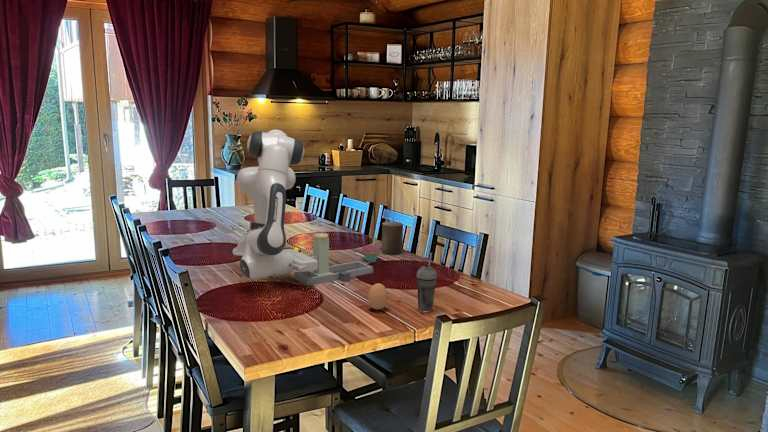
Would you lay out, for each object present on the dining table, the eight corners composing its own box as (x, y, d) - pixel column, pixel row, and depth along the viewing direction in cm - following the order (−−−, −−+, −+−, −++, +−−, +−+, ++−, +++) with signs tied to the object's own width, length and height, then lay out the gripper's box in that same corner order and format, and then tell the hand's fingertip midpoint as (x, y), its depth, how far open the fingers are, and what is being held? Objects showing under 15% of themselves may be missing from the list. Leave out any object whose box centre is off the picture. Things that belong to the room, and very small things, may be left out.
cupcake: (382, 259, 254) (383, 232, 251) (376, 264, 246) (377, 236, 243) (364, 257, 256) (365, 230, 254) (357, 261, 248) (358, 234, 246)
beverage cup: (413, 306, 196) (415, 249, 192) (434, 306, 197) (436, 250, 193) (416, 314, 189) (418, 255, 185) (437, 314, 190) (440, 255, 186)
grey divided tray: (312, 288, 212) (312, 280, 211) (290, 276, 226) (290, 268, 225) (378, 275, 230) (378, 267, 230) (353, 264, 244) (353, 257, 243)
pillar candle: (400, 255, 260) (401, 223, 257) (379, 253, 262) (380, 221, 259) (403, 250, 270) (405, 219, 267) (383, 249, 271) (384, 218, 269)
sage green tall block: (318, 280, 220) (319, 237, 216) (309, 276, 225) (309, 233, 222) (332, 278, 223) (332, 235, 220) (322, 273, 229) (323, 231, 225)
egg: (387, 306, 196) (388, 280, 194) (387, 313, 189) (388, 286, 187) (367, 305, 195) (368, 280, 194) (367, 312, 189) (368, 286, 187)
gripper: (297, 260, 204) (330, 255, 213) (271, 248, 220) (302, 243, 228) (297, 277, 205) (330, 271, 214) (271, 263, 221) (302, 258, 230)
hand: (315, 257), depth 221 cm, fingers closed, pressing on sage green tall block
